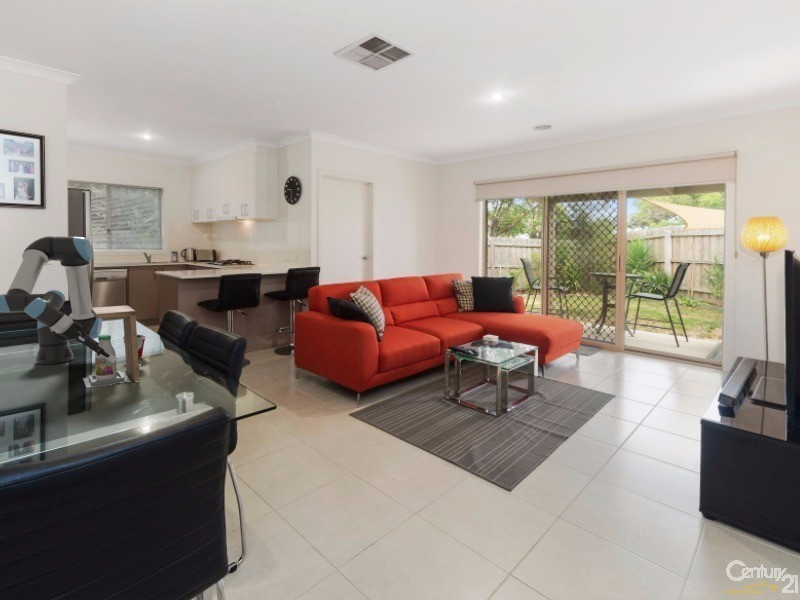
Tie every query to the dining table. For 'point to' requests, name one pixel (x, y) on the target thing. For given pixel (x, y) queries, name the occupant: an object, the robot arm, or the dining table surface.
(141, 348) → the plastic cup
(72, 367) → the dining table surface
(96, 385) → the grey square tray
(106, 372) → the milk bottle
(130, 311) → the overhang shelf
